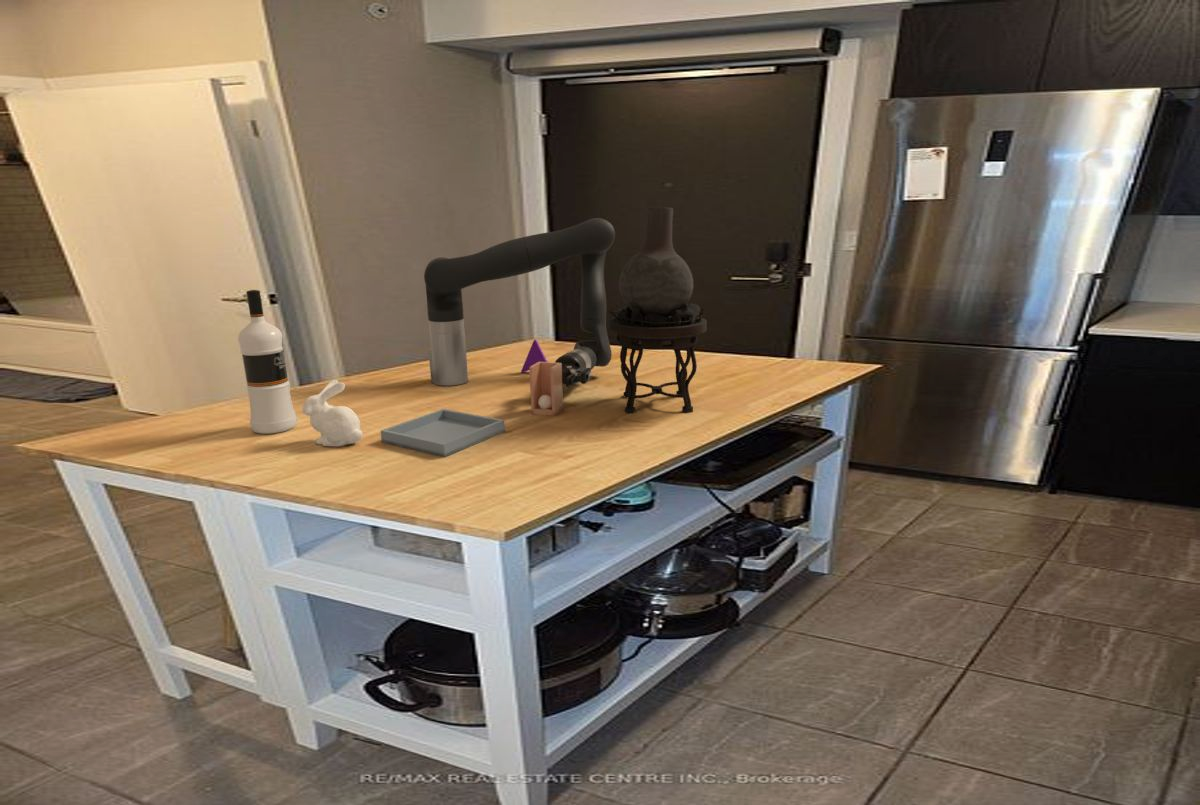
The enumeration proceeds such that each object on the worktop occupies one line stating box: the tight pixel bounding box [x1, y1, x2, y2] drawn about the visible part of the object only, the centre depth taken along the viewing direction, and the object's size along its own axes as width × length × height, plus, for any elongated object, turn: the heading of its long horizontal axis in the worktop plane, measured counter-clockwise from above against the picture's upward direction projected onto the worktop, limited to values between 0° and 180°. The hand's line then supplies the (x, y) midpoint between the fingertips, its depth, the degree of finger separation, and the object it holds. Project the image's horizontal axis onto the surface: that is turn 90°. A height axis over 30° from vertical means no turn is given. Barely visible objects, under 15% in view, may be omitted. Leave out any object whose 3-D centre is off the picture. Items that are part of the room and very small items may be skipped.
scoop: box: [528, 361, 564, 417], centre depth 154 cm, size 6×6×11 cm
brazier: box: [607, 206, 708, 414], centre depth 154 cm, size 22×22×45 cm
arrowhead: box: [520, 339, 548, 374], centre depth 192 cm, size 10×2×10 cm
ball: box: [538, 395, 552, 409], centre depth 154 cm, size 3×3×3 cm
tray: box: [380, 408, 506, 458], centre depth 139 cm, size 18×18×2 cm
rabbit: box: [302, 379, 364, 447], centre depth 136 cm, size 12×9×12 cm
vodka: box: [237, 289, 298, 435], centre depth 143 cm, size 9×9×30 cm
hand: (550, 381), depth 155 cm, fingers open, 8 cm apart
